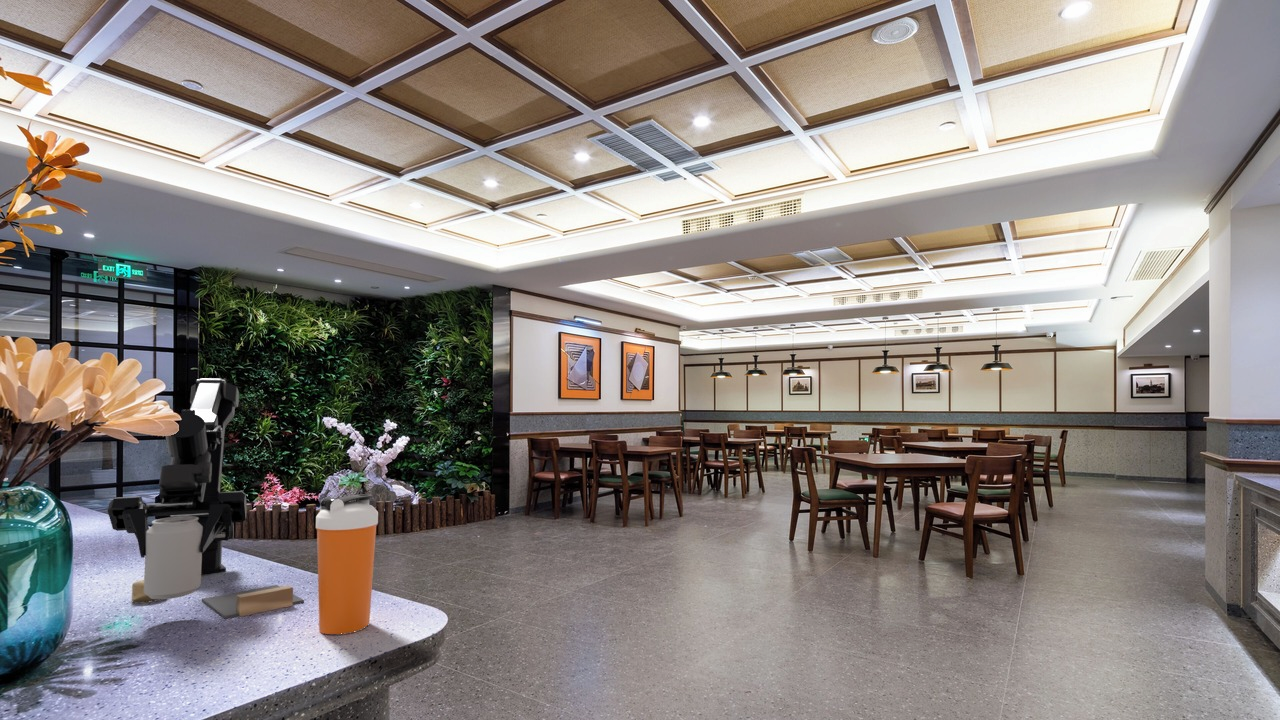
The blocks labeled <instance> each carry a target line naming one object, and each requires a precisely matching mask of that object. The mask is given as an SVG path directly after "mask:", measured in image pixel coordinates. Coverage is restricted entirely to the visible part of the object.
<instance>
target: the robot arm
mask: <svg viewBox="0 0 1280 720" xmlns="http://www.w3.org/2000/svg"><path fill="white" fill-rule="evenodd" d="M239 396H240V392H239V389H238V386H236V385H233V384H231V383H229V382H227V381H226V379H222V378H214V377H213V378H210V377H209V378H206V377H205V378H201V377H200V378H199V379H196V381H195V383H194V384H193V385H192V386H191V389H190V399H189V403H190V408H189V409H181V411H180V412H181V413H180V414H178V415H180V416H181V417H182V420H181V421H180V422H179V431H178V432H177V433H176V434H174V435H171V436H165V435H164V437H165V438H164V439H165V442H166V447H167V452H168V454H169V456H170V457H171V462H170V464H165V465H162V466H161V467H160V473H159V474H160V476H159V484H158V486H159V487H160V488H159V493H158V495H159V499H160V500H161V499H162V500H161V502H157V503H152V502H151V503H146V502H144V500H143V497H142V496H141V495H139V496H123V497H122V496H121V497H114V498H113V499H111V500H110V502H109V504H108V506H107V514H108V517H109V520H110V523H111V524H110V525H111V528H112V530H114V531H125V532H126V533H128V534H134V536H135V537H136V539H137V544H138V550H139V554H140V558H144V559H145V552H146V531H147V530H148V529H149V528H150V527H149V523H148V520H149V518H151V517H164V516H167V517H179V516H195V517H198V518H199V519H198V521H197V522H199V523H200V524H201V525H202V526H203V536H202V540H201V546H200V552H201V553H202V564H201V575H203V574H211V573H217V572H223V571H224V572H225V571H227V567H226V566H224V564H222V555H223V541H229V540H233V539H234V534H235V530H234V523H243V522H245V521H246V520H247V511H248V509H247V497H246V496H247V495H246V493H245V492H244V491H243V490H237V491H234V490H232V491H221V483H222V482H221V481H222V472H223V471H222V470H223V469H222V468H223V457H224V456H223V455H224V445H225V443H224V442H225V433H226V427H227V425H228V424H229V423H230V422H231V421H232V420H233V418H234V417H235V413H236V411H235V409H236V408H238V407H239V403H240V400H239V399H240V397H239Z"/></svg>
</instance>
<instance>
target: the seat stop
mask: <svg viewBox="0 0 1280 720" xmlns="http://www.w3.org/2000/svg"><path fill="white" fill-rule="evenodd" d="M293 594H294V587H293V586H291V585H284V586H279V587H278V588H272V589H267V590H262V591H256V592H251V593H246V594H241V595H237V602H236V612H238V613H239V616H238V617H244V616H249V615H252V614H258V613H263V612H267V611H268V612H269V611H272V610H277V609H282V608H283V609H284V608H287V607H292V606H293V605H294V604H293Z"/></svg>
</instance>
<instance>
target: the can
mask: <svg viewBox="0 0 1280 720" xmlns="http://www.w3.org/2000/svg"><path fill="white" fill-rule="evenodd" d="M198 519H199V518H198V517H195V516H174V517H171V516H168V517H163V518H158V519H154V520H152V521H151V524H152V525H151V526H150V527H149V529H148V530H147V531H146V552H145V557H144V574H143V575H144V578H143V580H144V594H146V595H148V596H149V597H150V598H152V599H161V600H168V599H176V598H181V597H185V596H188V595H191V594H193V593H194V592H195V591H196V590H197V589H198V588H199V587H200V586H201V585H202V574H201V564H202V553H201V552H200V546H201V540H202V536H203V526H202V525H201V524H200V523H199V522H197V521H198Z"/></svg>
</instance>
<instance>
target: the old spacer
mask: <svg viewBox="0 0 1280 720" xmlns="http://www.w3.org/2000/svg"><path fill="white" fill-rule="evenodd" d="M131 585H132V586H131V602H132V601H133V602H132V603H134V602H145V603H150V602H149V601H152V602H156V601H155V600H157V601H160V599H152V598H150V597H149V596H148V595H146V594H144V579H142V580H138V581H136V582H133V583H132V584H131Z"/></svg>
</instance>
